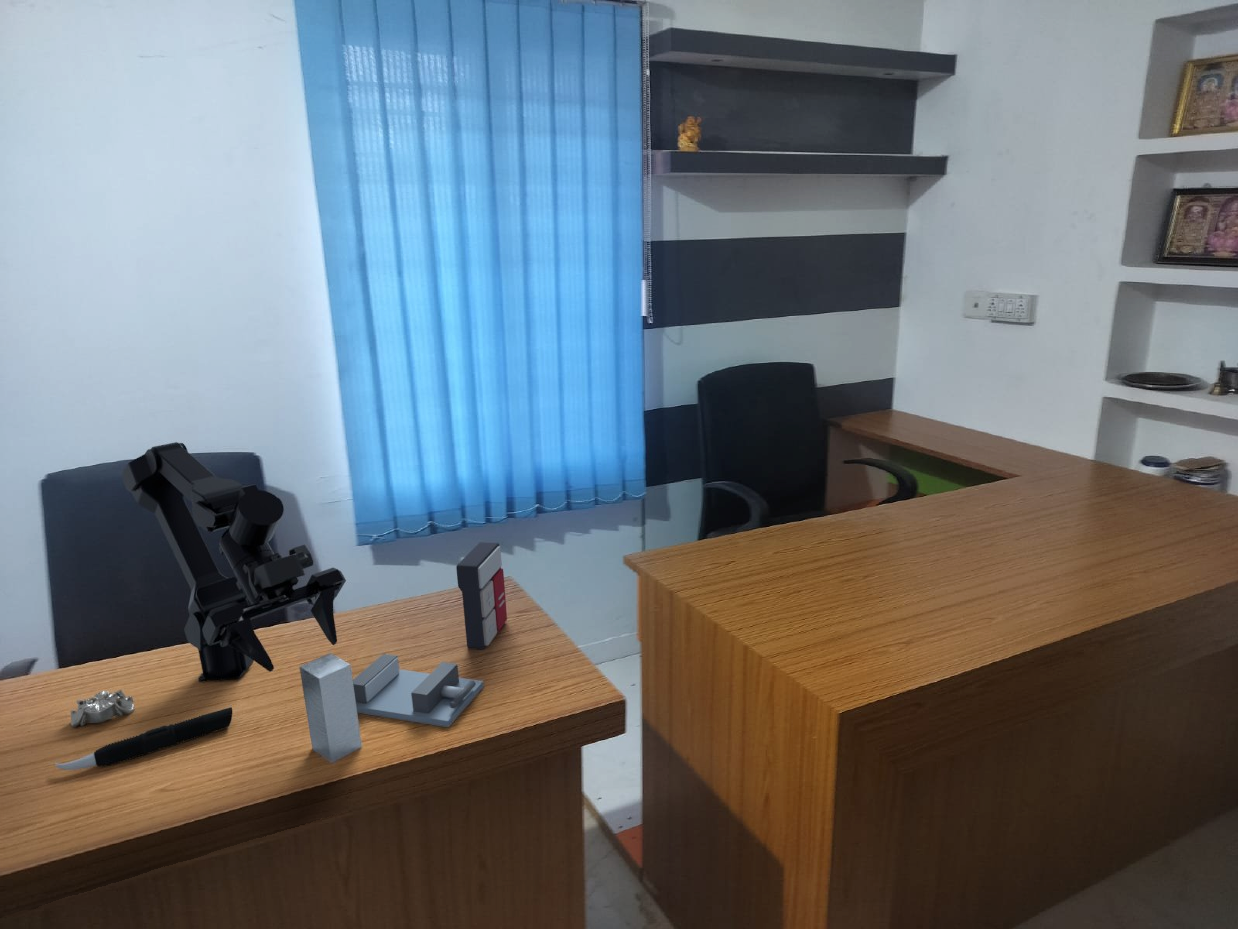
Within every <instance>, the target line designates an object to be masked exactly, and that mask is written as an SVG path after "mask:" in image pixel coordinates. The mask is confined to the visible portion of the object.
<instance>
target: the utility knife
mask: <svg viewBox="0 0 1238 929" xmlns="http://www.w3.org/2000/svg"><path fill="white" fill-rule="evenodd" d="M232 719H233V707H232V706H231V707H227V708H223V709H220V710H216V711H212V712H208V713H205V714H201V715H199V716H195V717H193V718H192V717H191V718H188V719H185V720H182V721H180V722H179V721H178V722H177V723H173V724H169V725H162V726H159V727H155V728H152V729H149V730H146V731H145V732H144V733H142V732H141V733H139V734H138V735H135V736H132V737H129V738H128V737H127V738H124V739H123V740H122V739H121V740H117V741H114V742H111V743H109V744H106V745H104V746H102V747H99V748H98V749H96V750H95V751H94V752H92V753H90V754H87V755H85V756H82V757H81V758H78V759H75V760H72V761H68V762H65V763H63V762H62V763H57V762H54V764H55V767H57V768H58V769H61V770H65V771H71V770H73V771H74V770H81V769H88V768H92V767H95V766H96V767H109V765H110V766H112V765H113V764H114V765H115V764H120V763H121V762H123V763H124V761H125V762H126V761H128V760H130V759H131V760H132V759H135V758H138V757H141V756H145V755H146V756H147V755H148V754H151V753H153V752H157V751H160V750H163V749H166V748H170V747H173V746H176V745H178V744H181V743H184V742H188V741H190V740H194V739H197V738H200V737H203V736H206V735H209V734H211V733H214V732H217V731H220V730H223V729H226V728H229V727H230V724H231V722H232Z"/></svg>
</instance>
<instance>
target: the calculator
mask: <svg viewBox="0 0 1238 929" xmlns="http://www.w3.org/2000/svg"><path fill="white" fill-rule="evenodd" d="M502 563H503V562H502V551H501V545H500V543H499V542H484V541H483V542H482V541H481V542H479V543H477V544H476V545H475V546H474V547H473V548H472V550H470V551H469V552H468V553H467V554H466V556H464V558H463V559H461V560H460V561H459V563H458V564H457V565H456V566H455V567H456V568H455V569H456V578H457V587H458V588H459V590H460V591H461V593H462V594H461V595H462V606H463V607H462V608H463V618H464V627H465V628H464V629H465V637H466V639H465V640H466V647H467V649H471V650H473V649H474V650H485V649H486V647H489V645H490V644H491V642H492V641H493V640H494V639H495V637H496V636H497V633H498V632H499V631H500V630H501V629H502V628H503V626H504V624H505V623H506V622H507V619H508V614H507V600H506V590H505V575H504V574H505V573H504V568H502V565H503V564H502Z"/></svg>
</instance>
